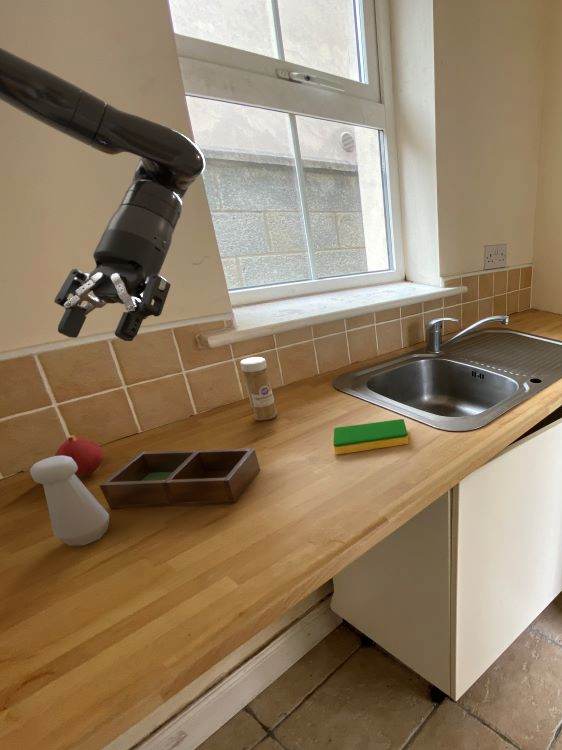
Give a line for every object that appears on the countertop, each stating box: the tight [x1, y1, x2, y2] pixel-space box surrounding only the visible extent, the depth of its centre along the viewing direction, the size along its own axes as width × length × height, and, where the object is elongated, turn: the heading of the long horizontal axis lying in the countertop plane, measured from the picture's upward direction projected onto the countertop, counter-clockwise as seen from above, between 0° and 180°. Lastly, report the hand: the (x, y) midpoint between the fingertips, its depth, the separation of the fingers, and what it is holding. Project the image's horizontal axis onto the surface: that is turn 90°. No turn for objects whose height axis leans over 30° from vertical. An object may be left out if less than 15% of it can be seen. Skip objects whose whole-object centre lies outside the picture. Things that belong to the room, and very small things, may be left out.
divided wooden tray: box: [99, 448, 261, 510], centre depth 75 cm, size 18×10×5 cm, turn 97°
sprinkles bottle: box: [239, 356, 278, 422], centre depth 96 cm, size 5×5×14 cm
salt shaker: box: [29, 455, 110, 547], centre depth 62 cm, size 6×6×13 cm
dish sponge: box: [332, 418, 409, 455], centre depth 91 cm, size 7×14×2 cm, turn 111°
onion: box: [54, 435, 105, 477], centre depth 76 cm, size 6×6×8 cm
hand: (94, 337), depth 64 cm, fingers open, 8 cm apart
